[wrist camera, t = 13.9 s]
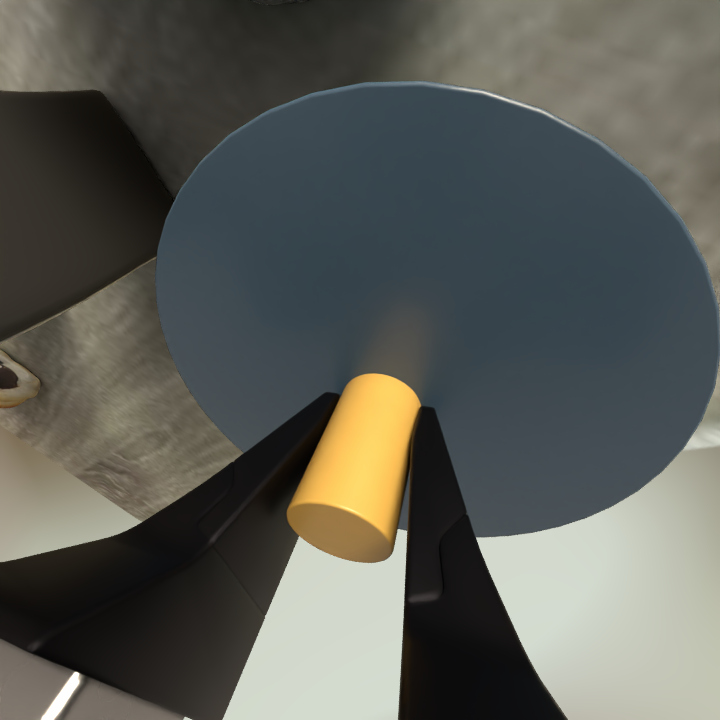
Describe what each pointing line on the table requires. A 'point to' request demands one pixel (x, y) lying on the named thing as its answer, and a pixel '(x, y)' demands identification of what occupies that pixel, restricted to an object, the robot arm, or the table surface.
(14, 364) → the pastry
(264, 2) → the tin
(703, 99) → the table surface
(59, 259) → the battery charger
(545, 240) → the tin lid
